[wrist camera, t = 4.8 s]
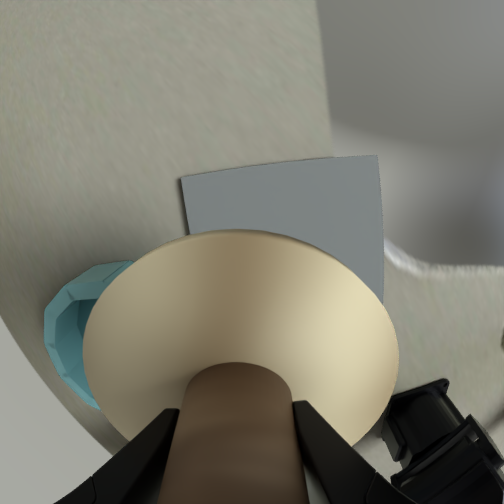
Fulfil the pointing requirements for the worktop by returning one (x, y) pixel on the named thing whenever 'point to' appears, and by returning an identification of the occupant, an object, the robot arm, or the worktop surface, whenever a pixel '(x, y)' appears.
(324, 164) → the mat
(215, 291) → the lid
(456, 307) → the worktop surface
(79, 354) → the bowl
